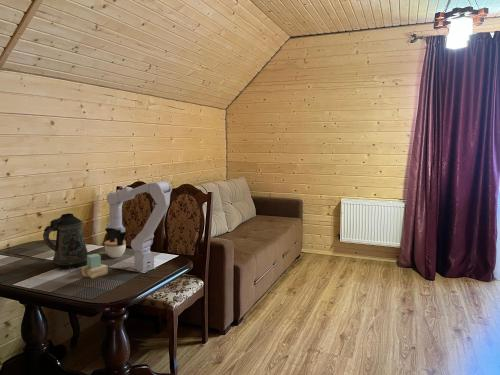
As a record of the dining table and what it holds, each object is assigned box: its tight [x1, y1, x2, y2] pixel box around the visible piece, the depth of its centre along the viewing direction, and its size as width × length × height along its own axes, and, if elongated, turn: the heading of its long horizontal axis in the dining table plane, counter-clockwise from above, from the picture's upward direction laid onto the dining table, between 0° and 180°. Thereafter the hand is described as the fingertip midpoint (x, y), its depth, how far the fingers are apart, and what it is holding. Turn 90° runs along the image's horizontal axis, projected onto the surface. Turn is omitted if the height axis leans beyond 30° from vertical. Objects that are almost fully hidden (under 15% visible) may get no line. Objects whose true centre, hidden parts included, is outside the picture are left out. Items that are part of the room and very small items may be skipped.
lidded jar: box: [103, 238, 127, 259], centre depth 207 cm, size 11×11×9 cm
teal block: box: [87, 253, 102, 268], centre depth 180 cm, size 4×4×5 cm
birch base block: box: [81, 263, 109, 279], centre depth 180 cm, size 8×8×4 cm
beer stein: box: [42, 212, 90, 270], centre depth 190 cm, size 16×19×25 cm
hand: (116, 243), depth 193 cm, fingers open, 7 cm apart
